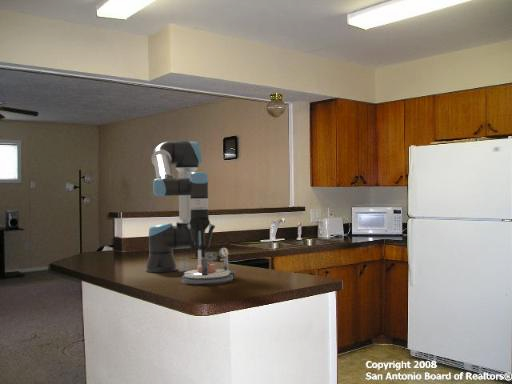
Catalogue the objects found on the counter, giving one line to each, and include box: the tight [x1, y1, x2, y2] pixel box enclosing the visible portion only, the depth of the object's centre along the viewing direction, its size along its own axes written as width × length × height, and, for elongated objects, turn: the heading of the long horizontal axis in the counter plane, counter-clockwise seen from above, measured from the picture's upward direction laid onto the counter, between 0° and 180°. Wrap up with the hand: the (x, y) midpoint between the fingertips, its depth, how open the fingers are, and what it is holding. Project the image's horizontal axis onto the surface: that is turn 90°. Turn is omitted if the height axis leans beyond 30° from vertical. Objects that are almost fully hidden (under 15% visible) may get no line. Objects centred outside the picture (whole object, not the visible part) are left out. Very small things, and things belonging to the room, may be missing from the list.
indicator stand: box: [218, 247, 229, 270], centre depth 231 cm, size 5×6×13 cm
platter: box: [183, 259, 236, 279], centre depth 221 cm, size 22×20×8 cm
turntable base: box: [181, 275, 234, 286], centre depth 221 cm, size 22×22×2 cm
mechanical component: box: [203, 251, 218, 264], centre depth 243 cm, size 3×10×10 cm, turn 51°
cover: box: [196, 262, 217, 273], centre depth 221 cm, size 8×8×4 cm
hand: (200, 265), depth 214 cm, fingers closed
